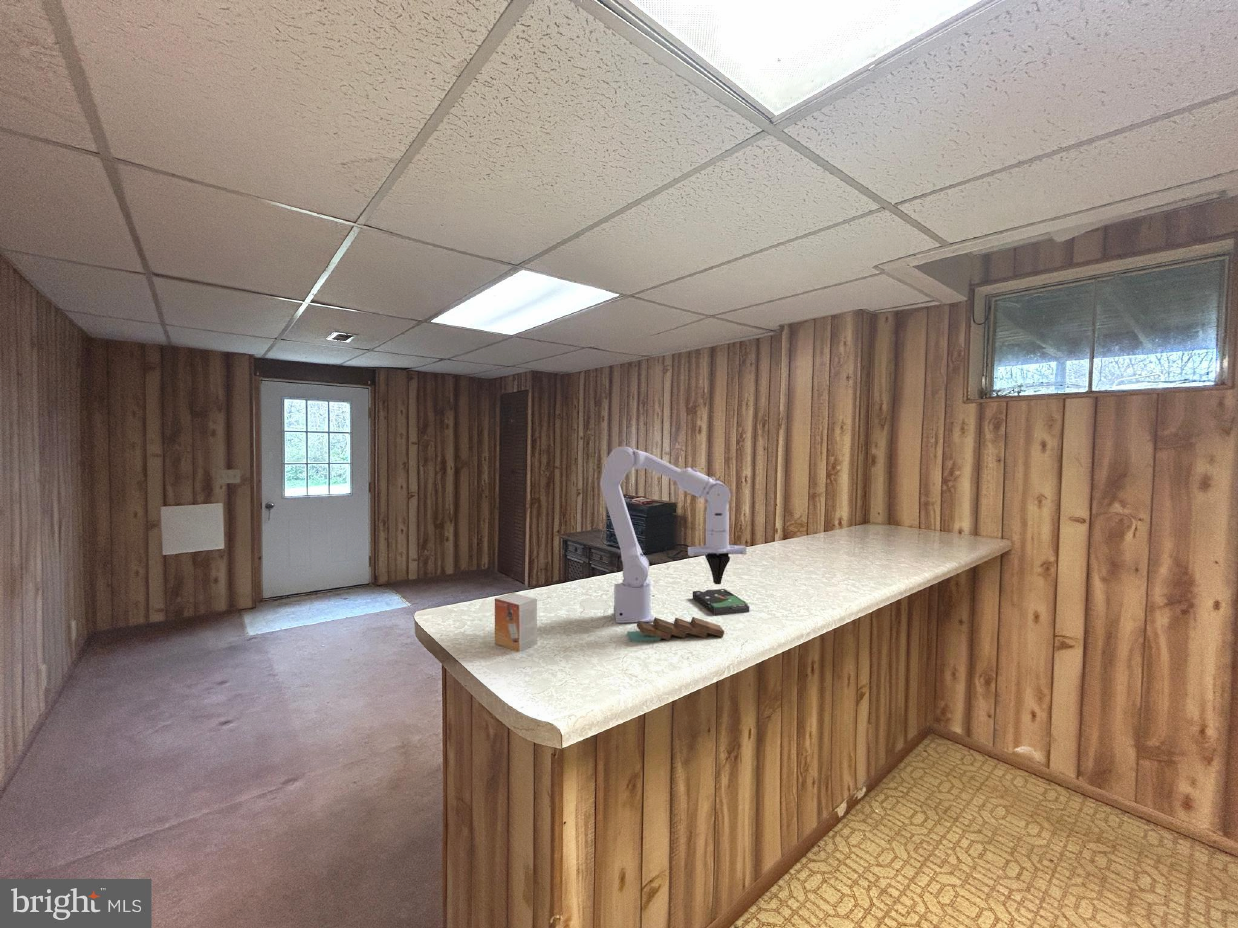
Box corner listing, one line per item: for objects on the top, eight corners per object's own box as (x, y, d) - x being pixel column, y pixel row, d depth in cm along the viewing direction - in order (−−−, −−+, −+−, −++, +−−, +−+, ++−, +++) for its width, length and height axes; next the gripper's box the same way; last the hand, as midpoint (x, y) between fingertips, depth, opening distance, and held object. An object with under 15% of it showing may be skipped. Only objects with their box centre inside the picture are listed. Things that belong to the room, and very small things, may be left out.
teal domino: (657, 630, 117) (627, 631, 116) (660, 636, 113) (630, 638, 112) (657, 636, 117) (627, 637, 116) (660, 642, 113) (630, 644, 112)
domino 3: (705, 638, 114) (677, 629, 114) (701, 631, 118) (673, 622, 118) (707, 632, 114) (678, 623, 114) (702, 626, 118) (675, 617, 118)
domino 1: (669, 639, 113) (642, 633, 111) (662, 632, 117) (636, 626, 115) (671, 634, 113) (644, 627, 111) (664, 627, 117) (638, 620, 115)
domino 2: (684, 638, 114) (657, 629, 112) (678, 631, 118) (652, 622, 116) (686, 632, 114) (659, 623, 112) (680, 625, 118) (654, 617, 116)
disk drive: (691, 600, 143) (714, 617, 129) (691, 591, 143) (714, 606, 129) (724, 597, 146) (750, 613, 132) (724, 588, 146) (750, 603, 132)
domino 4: (722, 637, 115) (694, 628, 114) (717, 630, 119) (690, 622, 118) (724, 631, 115) (696, 622, 114) (719, 625, 119) (692, 616, 118)
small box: (494, 644, 111) (493, 597, 111) (512, 636, 116) (512, 591, 115) (519, 652, 107) (518, 604, 106) (537, 644, 111) (537, 597, 111)
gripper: (692, 533, 120) (692, 588, 121) (751, 531, 122) (750, 586, 122) (686, 528, 127) (686, 580, 128) (741, 527, 129) (740, 578, 129)
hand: (717, 583), depth 125 cm, fingers closed
